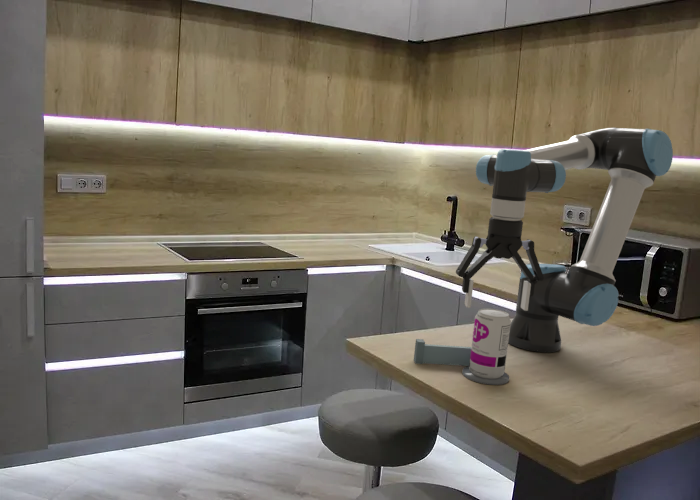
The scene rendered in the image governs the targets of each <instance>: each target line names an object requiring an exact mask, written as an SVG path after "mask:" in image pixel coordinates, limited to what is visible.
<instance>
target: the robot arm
mask: <svg viewBox="0 0 700 500" xmlns="http://www.w3.org/2000/svg"><path fill="white" fill-rule="evenodd" d="M672 143H673V142H672V141H671V138H670V136H669V135H668V134H667V133H666V132H664V131H662V130H658V129H652V128H625V127H606V128H600V129H595V130H591V131H588V132H584V133H579V134H575V135H573V136H571V137H570V138H569V139H568V140H565V141H561V142H556V143H551V144H546V145H542V146H538V147H533V148H529V149H524V150H523V149H522V150H521V149H511V148H510V149H508V148H501V149H499V151H497V154H494V153H493V154H485V155H483V156H481V157H480V158H479V159H478V161H477V163H476V167H475V175H476V178H477V180H478V181H479V182H480V183H481V184H483V185H484V184H485V185H488V186H490V187H492V186H493V187H492V193H491V203H490V210H489V215H491V217H489V220H488V227H487V236H486V238H483V237H479V236H477V235H475V236H473V238H472V242H471V246H470V248H469V249H468V251H467V252H466V254H465V255H464V258H462V260H461V262H460V264H459V265H458V267H457V268H456V270H455V274H456V275H457V276H458V277H460V278H462V287H461V291H462V292H463V293H464V294H465V296H464V304H463V305H465V307H466V308H468V309H470V308H471V307H472V297H473V288H474V280H473V279H472V277H474V276H475V274H477V272H479V271H480V270H481V269H482V268H483V267H484V266H485V265H486V264H487V263H488V262H489V261H490V260H492V258H495V259H506V260H510V259H513V261H514V262H515V263H516V265H517V267H519V269H520V271H521V273H520V277H519V283H518V292H517V299H516V300H517V301H516V305H515V306H516V308H515V314H514V316H513V318H512V320H511V326H510V333H509V341H508V345H509V344H510V345H511V346H513V347H516V348H520V349H521V350H522V349H523V350H527V351H530V352H531V351H532V352H536V353H555V352H558V351H560V350H561V346H562V337H561V332H560V326H559V317H561V318H565V319H568V320H571V321H573V322H576V323H578V324H580V325H587V326H590V327H591V326H592V327H596V326H601V325H602V324H604V323H606V322H607V321H608V320H609V319H610V318H611V317H612V316H613V314H614V313H615V311H616V309H617V307H618V303H619V291H618V289H617V287H616V286H615V284H616V281H617V280H616V279H615V276H614V274H613V272H614V269H615V266H616V264H617V261H618V260H619V256H620V254H621V252H622V249H623V245H624V244H625V241H626V239H627V236H628V233H629V230H630V227H631V226H632V223H633V220H634V217H635V214H636V213H637V211H638V210H637V209H638V207H639V204H640V201H641V199H642V197H643V194H644V191H645V190H646V189H648V188H650V187H653V185H654V182H655V180H656V178H657V177H661V176H664V175H666V174H667V173H668V172H669V171H670V169H671V166H672V163H673V156H674V152H673V151H674V150H673V144H672ZM571 169H575V170H586V169H595V170H606V171H607V173H608V175H609V177H610V182H609V184H608V187H607V190H606V193H605V195H604V197H603V200H602V203H601V205H600V207H599V210H598V213H597V216H596V218H595V220H594V224H593V226H592V228H591V231H590V234H589V236H588V239H587V241H586V244H585V246H584V249H583V251H582V254H581V256H580V259H579V261H578V262H576V263H574V264H572V265H571V266H570V269H569V271H568V272H567V269H566V266H565V265H562V264H556V263H555V264H552V263H539V260H538V257H537V255H536V251H535V242H534V241H533V240H532V239H526V240H522V233H523V227H524V222H523V220H522V219H524V218H525V210H526V201H527V193H546V194H549V193H554V192H558V191H559V190H560V189H561V188H562V187H563V186H564V185H565V183H566V178H567V177H566V176H567V170H571ZM483 245H485V246H486V249H485V251H483V252H482V254H481V256H479V257H478V258H477V259H476V261H474V263H473V264H472V262H473V260H474V259H475V257H476V256H477V254H478V252H479V251H480V248H482V247H483ZM522 247H523V249H524V250H525V253H526V255H527V258H528V260H529V261H528V262H529V263H527V264H526V263H525V261H524V260H523V259H522V256H521V255H520V253H519V252H518V251H519V250H520V249H521V248H522ZM469 266H470V267H469Z"/></svg>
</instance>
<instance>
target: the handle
mask: <svg viewBox="0 0 700 500" xmlns="http://www.w3.org/2000/svg"><path fill="white" fill-rule="evenodd" d="M471 347H472V346H462V345H461V346H460V345H458V346H457V345H447V344H445V345H444V344H443V345H442V344H429V343H428V344H427V343H426V342H425V340H424V339H423V338H416V339H415V345H414V353H413V354H414V355H413V361H414V363H415V365H416V364H419V365H423V364H432V365H445V366H446V365H450V366H462V367H463V366H465V367H467V366H469V363H470V355H471Z"/></svg>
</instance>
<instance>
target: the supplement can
mask: <svg viewBox="0 0 700 500" xmlns="http://www.w3.org/2000/svg"><path fill="white" fill-rule="evenodd" d="M511 322H512V320H511V318H510V314H509V312H506V311H504V310H500V309H496V308H481V309H478V312H477V313H476V314H475V316H474V322H473V323H474V324H473V331H472V340H471V346H470V347H471V355H470V363H469V370H470V371H471V372H472V373H473V374H474V375H476V376H478V377H482V378H487V379H497V378H500V377H501V376H502V375H503V374H504V372H505V371H506V370H505V369H506V364H507V363H506V362H507V354H508V348H509V343H508V341H509V333H510V326H511Z"/></svg>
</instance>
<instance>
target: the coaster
mask: <svg viewBox="0 0 700 500" xmlns="http://www.w3.org/2000/svg"><path fill="white" fill-rule="evenodd" d="M461 372H462V373H461V374H462V376H463V377H465V378H466V379H468V380H470V381H473V382H476V383H478V384H484V385H489V386H500V385H505V384H508V383H509V381H510V376H509V374H508V373H507V372H505V371H504V374H503V375H502V376H501V377H500V378H497V379H487V378H482V377H478V376H476V375H474V374H473V373H472V372H471V371H470V370H469V366H465V367H463V368H462V371H461Z"/></svg>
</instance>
